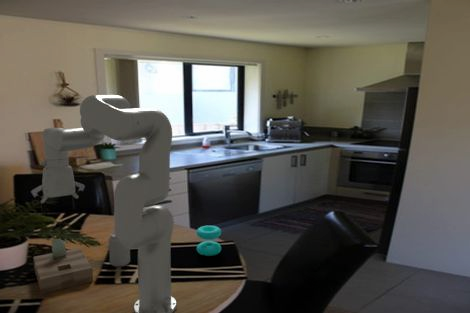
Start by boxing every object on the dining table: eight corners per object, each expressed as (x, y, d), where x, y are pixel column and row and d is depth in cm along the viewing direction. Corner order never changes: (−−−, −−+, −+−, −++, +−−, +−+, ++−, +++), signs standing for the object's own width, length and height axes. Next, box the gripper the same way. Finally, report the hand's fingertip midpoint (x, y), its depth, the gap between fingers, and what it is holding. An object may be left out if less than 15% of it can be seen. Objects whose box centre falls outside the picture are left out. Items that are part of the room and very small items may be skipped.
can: (124, 268, 143) (123, 237, 141) (106, 266, 144) (104, 236, 142) (133, 260, 150) (132, 230, 148) (116, 258, 151) (114, 229, 149)
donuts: (193, 226, 160) (216, 223, 163) (193, 249, 161) (216, 245, 165) (200, 234, 150) (224, 231, 154) (200, 258, 152) (224, 254, 156)
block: (93, 281, 133) (92, 267, 132) (41, 293, 124) (40, 279, 124) (80, 259, 150) (80, 247, 149) (34, 269, 141) (33, 256, 140)
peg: (68, 269, 140) (66, 237, 138) (54, 272, 138) (52, 240, 136) (65, 264, 144) (63, 234, 142) (52, 267, 142) (50, 236, 140)
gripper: (30, 167, 127) (34, 217, 130) (85, 162, 136) (88, 209, 139) (27, 164, 133) (31, 212, 136) (80, 159, 143) (83, 204, 145)
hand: (60, 210), depth 138 cm, fingers open, 9 cm apart
